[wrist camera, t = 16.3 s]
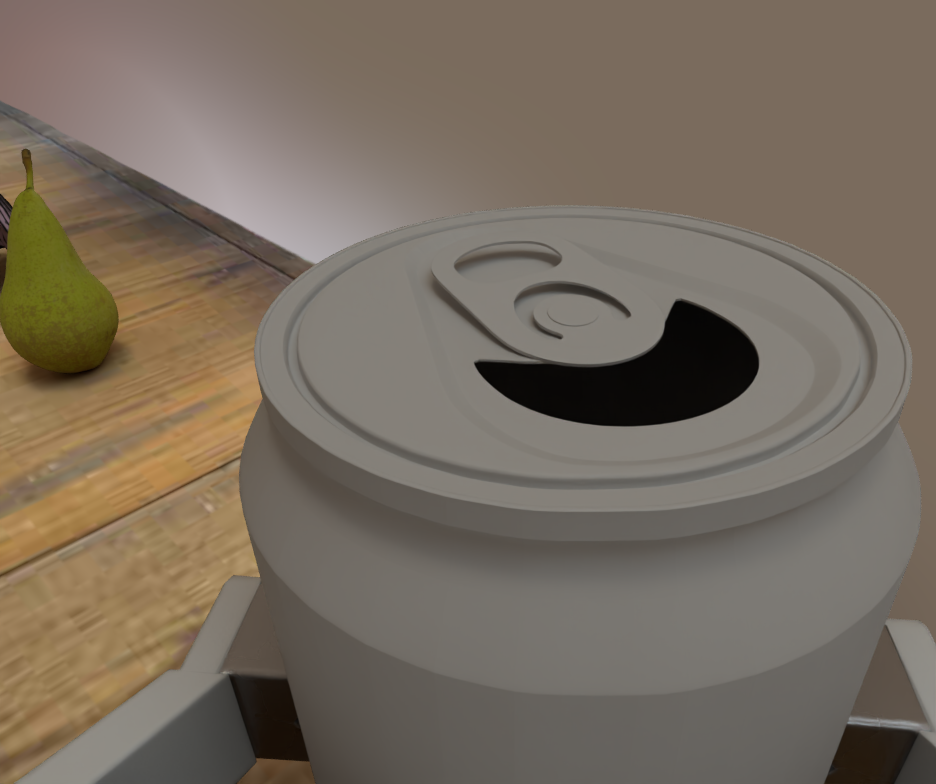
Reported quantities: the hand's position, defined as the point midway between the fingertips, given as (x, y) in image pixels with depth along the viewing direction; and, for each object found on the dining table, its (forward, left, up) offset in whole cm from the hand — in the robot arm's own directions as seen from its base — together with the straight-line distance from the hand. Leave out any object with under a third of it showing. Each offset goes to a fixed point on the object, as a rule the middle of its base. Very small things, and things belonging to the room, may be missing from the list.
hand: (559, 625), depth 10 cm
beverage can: (-1, 0, -7) cm, 7 cm away
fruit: (+13, +37, -13) cm, 41 cm away
